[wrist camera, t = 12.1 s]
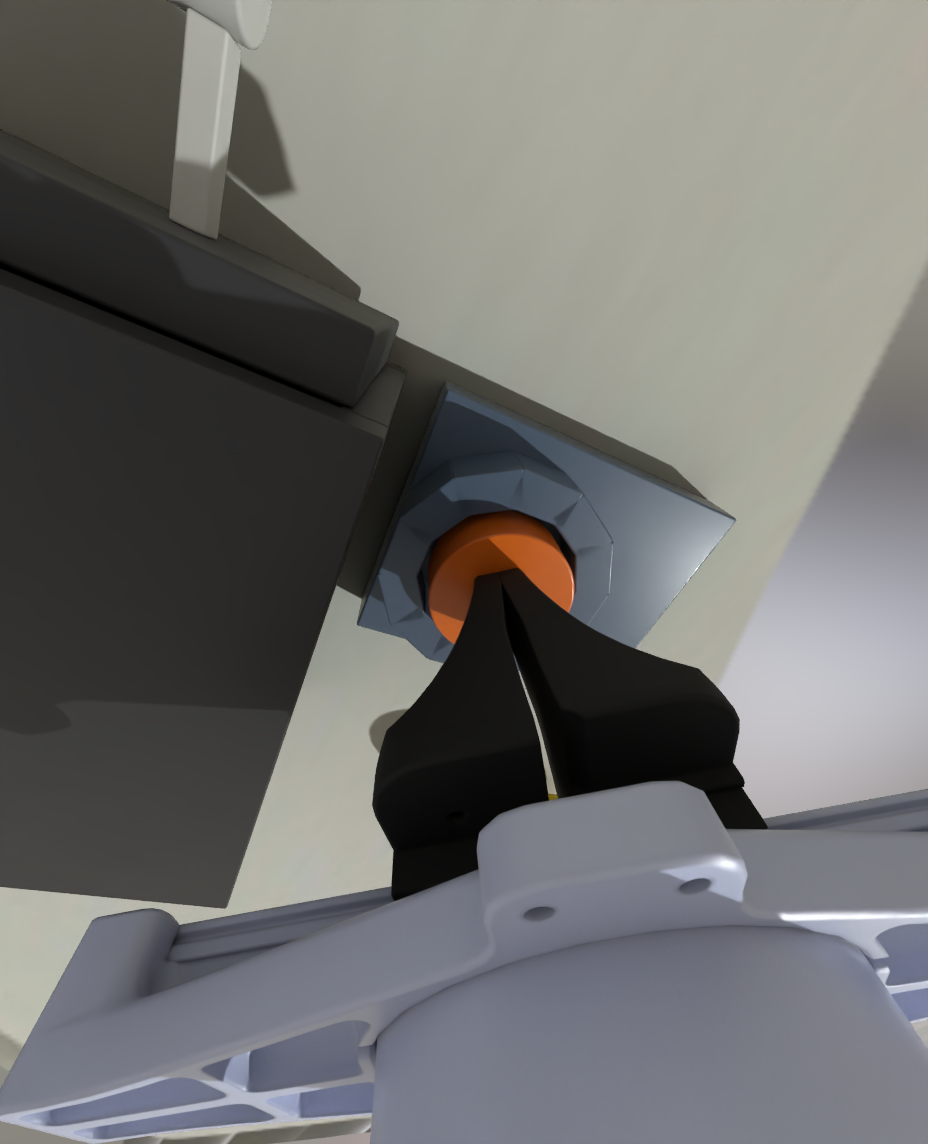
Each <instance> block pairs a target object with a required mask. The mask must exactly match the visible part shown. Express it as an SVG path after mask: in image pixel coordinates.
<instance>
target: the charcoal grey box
mask: <svg viewBox="0 0 928 1144" xmlns="http://www.w3.org/2000/svg"><path fill="white" fill-rule="evenodd" d="M405 375H406V370H405V369H402V368H400V367H398V366H396V365H394V364H391V363H389V362H387V363H386V364H385V366H384V367H383V368H382V369H381V371H380V372H379V373H378V375H377V376H376V377H375V379H374V380H373V381H372V383H371V384H370V385H369V387H368V388H367V389H366V391H365V392H364V393H363V395H362V396H361V397H360V399H359V400H358V401H357V403H356V404H355V405H354V406H353V407H347V406H344V405H343V406H342V407H341V408H339V407H337V406H334V405H332V404H329V403H327V402H325V401H322V400H320V399H317V398H315V397H312V396H310V395H308V394H305V393H303V392H300V391H298V390H295V389H293V388H290V387H288V386H286V385H283V384H281V383H278V382H276V381H273V380H271V379H269V378H266V377H264V376H261V375H259V374H256V373H254V372H252V371H249V370H247V369H244V368H242V367H239V366H237V365H234V364H232V363H230V362H227V361H225V360H222V359H220V358H217V357H215V356H213V355H210V354H208V353H205V352H203V351H200V350H198V349H196V348H193V347H191V346H188V345H186V344H183V343H181V342H178V341H176V340H174V339H171V338H169V337H166V336H164V335H161V334H159V333H157V332H154V331H152V330H149V329H147V328H144V327H142V326H139V325H137V324H135V323H132V322H130V321H127V320H125V319H122V318H120V317H118V316H115V315H113V314H110V313H108V312H105V311H103V310H101V309H98V308H96V307H93V306H91V305H88V304H86V303H83V302H81V301H79V300H76V299H74V298H71V297H69V296H66V295H64V294H62V293H59V292H57V291H54V290H52V289H49V288H47V287H45V286H42V285H40V284H37V283H35V282H32V281H30V280H27V279H25V278H23V277H20V276H18V275H15V274H13V273H10V272H8V271H6V270H3V269H1V268H0V887H8V888H18V889H28V890H39V891H49V892H59V893H69V894H80V895H90V896H100V897H111V898H121V899H131V900H141V901H152V902H162V903H172V904H183V905H193V906H203V907H213V908H226V907H227V905H228V903H229V900H230V897H231V894H232V891H233V888H234V885H235V882H236V879H237V876H238V873H239V870H240V867H241V864H242V861H243V858H244V855H245V852H246V849H247V846H248V843H249V841H250V838H251V835H252V832H253V829H254V826H255V823H256V820H257V817H258V814H259V811H260V808H261V805H262V802H263V799H264V796H265V793H266V790H267V787H268V784H269V782H270V779H271V776H272V773H273V770H274V767H275V764H276V761H277V758H278V755H279V752H280V749H281V746H282V743H283V740H284V737H285V734H286V731H287V728H288V725H289V723H290V720H291V717H292V714H293V711H294V708H295V705H296V702H297V699H298V696H299V693H300V690H301V687H302V684H303V681H304V678H305V675H306V672H307V669H308V666H309V663H310V661H311V658H312V655H313V652H314V649H315V646H316V643H317V640H318V637H319V634H320V631H321V628H322V625H323V622H324V619H325V616H326V613H327V610H328V607H329V604H330V602H331V599H332V596H333V593H334V590H335V587H336V584H337V581H338V578H339V575H340V572H341V569H342V566H343V563H344V560H345V557H346V554H347V551H348V548H349V545H350V543H351V540H352V537H353V534H354V531H355V528H356V525H357V522H358V519H359V516H360V513H361V510H362V507H363V504H364V501H365V498H366V495H367V492H368V489H369V486H370V483H371V481H372V478H373V475H374V472H375V469H376V466H377V463H378V460H379V457H380V454H381V451H382V448H383V445H384V442H385V439H386V436H387V433H388V429H389V426H390V423H391V420H392V416H393V413H394V410H395V407H396V404H397V400H398V397H399V394H400V391H401V388H402V384H403V381H404V378H405Z"/></svg>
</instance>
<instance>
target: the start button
mask: <svg viewBox="0 0 928 1144" xmlns="http://www.w3.org/2000/svg"><path fill="white" fill-rule="evenodd" d="M514 568H519V569H521V570H522V571H523V572H524V573H525V574H526V576H527V577H528V578H529V579H530V580H531V581H532V582H533V583H534V584H535V585H536V586H537V587H538V588H539V589H540V590H541V591H542V592H544V593H545V594H546V595H547V596H548V597H549V598H551V599H552V600H553V601H554V602H555V603H556V604H558V605H559V606H560V607H561V608H563V609H564V610H566V611H567V612H568V613H569V611H570V608H571V606H572V602H573V598H574V590H575V587H574V578H573V573H572V571H571V568H570V566H569V564H568V562H567V560H566V559H565V557H564V555H563V553H562V552H561V550H560V548H559V546H558V545H557V543H556V541H555V539H554V538H553V536H552V534H551V533H550V532H549V531H548V530H547V528H546V527H544V526H543V525H542V524H541V523H540V522H538V521H537V520H535V519H534V518H532V517H530V516H527V515H525V514H522V513H519V512H515V511H509V510H507V511H500V512H492V513H485V514H478V515H470V516H468V517H467V518H465V519H464V520H462V521H461V522H460V523H458V524H457V525H455V526H454V527H453V528H451V529H450V530H448V531H447V532H446V533H444V534H443V535H442V536H441V538H440V539H439V541H438V542H437V543H436V545H435V547H434V549H433V551H432V554H431V557H430V560H429V565H428V603H429V610H430V614H431V617H432V619H433V621H434V624H435V625H436V627H437V628H438V630H439V631H440V632H441V633H442V634H443V635H444V637H446V638H447V639H448V640H449V641H450V642H452V643H453V644H455V642H456V640H457V638H458V636H459V633H460V631H461V628H462V626H463V623H464V621H465V618H466V615H467V612H468V609H469V606H470V602H471V598H472V594H473V589H474V579H475V578H476V577H477V576H480V575H485V574H490V573H495V572H499V571H504V570H509V569H514Z"/></svg>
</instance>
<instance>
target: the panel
mask: <svg viewBox="0 0 928 1144" xmlns="http://www.w3.org/2000/svg"><path fill="white" fill-rule="evenodd" d="M507 510H509V511H515V512H519V513H522V514H525V515H527V516H530V517H532V518H534V519H535V520H537V521H538V522H540V523H541V524H542V525H543V526H544V527H546V528H547V530H548V531H549V532H550V533H551V534H552V536H553V538H554V539H555V541H556V543H557V545H558V546H559V548H560V550H561V552H562V553H563V555H564V557H565V559H566V560H567V562H568V564H569V566H570V568H571V571H572V573H573V578H574V587H575V590H574V598H573V602H572V606H571V608H570V611H569V613H570V614H571V615H572V616H574V617H575V618H577V619H578V620H580V621H581V622H583V623H584V624H586V625H588V626H589V627H591V628H593V629H594V630H596V631H598V632H600V633H602V634H604V635H606V636H608V637H610V638H612V639H614V640H616V641H618V642H620V643H623V644H625V645H627V646H630V647H632V648H636V647H637V645H638V644H639V643H640V642H641V640H642V639H643V638H644V637H645V635H646V634H647V633H648V631H649V630H650V629H651V628H652V626H653V625H654V624H655V623H656V621H657V620H658V619H659V618H660V616H661V615H662V614H663V612H664V611H665V610H666V609H667V607H668V606H669V605H670V604H671V602H672V601H673V600H674V599H675V597H676V596H677V595H678V593H679V592H680V591H681V590H682V588H683V587H684V586H685V585H686V583H687V582H688V581H689V579H690V578H691V577H692V576H693V574H694V573H695V572H696V571H697V569H698V568H699V567H700V566H701V564H702V563H703V562H704V560H705V559H706V558H707V557H708V555H709V554H710V553H711V552H712V550H713V549H714V548H715V547H716V545H717V544H718V543H719V541H720V540H721V539H722V538H723V536H724V535H725V534H726V533H727V531H728V530H729V529H730V528H731V526H732V525H733V524H734V522H735V521H736V519H735V518H734V517H733V516H731V515H730V514H728V513H727V512H725V511H724V510H722V509H721V508H719V507H718V506H716V505H715V504H713V503H712V502H710V501H708V500H706V499H704V498H701V497H699V496H697V495H695V494H693V493H690V492H688V491H686V490H684V489H682V488H679V487H677V486H675V485H673V484H671V483H668V482H666V481H664V480H662V479H660V478H658V477H655V476H653V475H651V474H649V473H647V472H644V471H642V470H640V469H638V468H636V467H633V466H631V465H629V464H627V463H625V462H622V461H620V460H618V459H616V458H614V457H612V456H609V455H607V454H605V453H603V452H601V451H598V450H596V449H594V448H592V447H590V446H587V445H585V444H583V443H581V442H579V441H577V440H574V439H572V438H570V437H568V436H566V435H563V434H561V433H559V432H557V431H555V430H552V429H550V428H548V427H546V426H544V425H541V424H539V423H537V422H535V421H533V420H531V419H528V418H526V417H524V416H522V415H520V414H517V413H515V412H513V411H511V410H509V409H506V408H504V407H502V406H500V405H498V404H495V403H493V402H491V401H489V400H487V399H485V398H482V397H480V396H478V395H476V394H474V393H471V392H469V391H467V390H465V389H463V388H460V387H458V386H456V385H454V384H452V383H450V382H445V383H444V385H443V388H442V390H441V393H440V396H439V398H438V401H437V403H436V406H435V409H434V411H433V414H432V417H431V419H430V422H429V425H428V427H427V430H426V432H425V435H424V438H423V440H422V443H421V446H420V448H419V451H418V454H417V456H416V459H415V461H414V464H413V467H412V469H411V472H410V475H409V477H408V480H407V483H406V485H405V488H404V490H403V493H402V496H401V498H400V500H399V503H398V506H397V508H396V511H395V513H394V516H393V519H392V521H391V524H390V527H389V529H388V532H387V535H386V537H385V540H384V542H383V545H382V548H381V551H380V554H379V556H378V559H377V562H376V564H375V567H374V569H373V572H372V575H371V577H370V580H369V583H368V585H367V588H366V591H365V593H364V596H363V598H362V602H361V607H360V611H359V616H358V620H357V625H358V626H362V627H365V628H369V629H372V630H376V631H379V632H383V633H387V634H390V635H394V636H397V637H401V638H404V639H406V640H408V641H409V642H410V643H411V644H412V645H413V646H414V647H415V648H416V649H417V650H418V651H420V652H421V653H422V654H423V655H424V656H425V657H426V658H428V659H430V660H434V661H437V662H441V663H444V662H445V661H446V659H447V657H448V656H449V654H450V652H451V650H452V648H453V646H454V644H453V643H452V642H450V641H449V640H448V639H447V638H446V637H444V635H443V634H442V633H441V632H440V631H439V630H438V628H437V627H436V625H435V624H434V621H433V619H432V617H431V614H430V610H429V603H428V565H429V560H430V557H431V554H432V551H433V549H434V547H435V545H436V543H437V542H438V541H439V539H440V538H441V536H442V535H443V534H444V533H446V532H447V531H448V530H450V529H451V528H453V527H454V526H455V525H457V524H458V523H460V522H461V521H462V520H464V519H465V518H467V517H468V516H470V515H478V514H485V513H492V512H500V511H507ZM514 659H515V656H514ZM515 662H516V666H517V669H518V671H520V670H519V667H518V664H517V661H516V659H515Z"/></svg>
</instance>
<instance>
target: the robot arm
mask: <svg viewBox="0 0 928 1144" xmlns="http://www.w3.org/2000/svg"><path fill="white" fill-rule="evenodd" d="M514 656H515V659H516V661H517V664H518V667H519V670H520V672H521V675H522V678H523V681H524V683H525V686H526V689H527V691H528V694H529V697H530V700H531V702H532V705H533V708H534V710H535V713H536V716H537V719H538V722H539V726H540V729H541V733H542V737H543V741H544V745H545V748H546V752H547V756H548V760H549V764H550V768H551V772H552V776H553V780H554V784H555V788H556V792H557V796H558V799H555V800H550V801H549V797H548V791H547V784H546V778H545V771H544V765H543V758H542V752H541V745H540V741H539V736H538V733H537V729H536V725H535V721H534V718H533V715H532V712H531V709H530V706H529V703H528V700H527V697H526V694H525V691H524V688H523V685H522V682H521V679H520V675H519V672H518V669H517V666H516V662H515V659H514ZM739 721H740V720H739V717H738V715H737V713H736V711H735V709H734V708H733V706H732V705H731V704H730V703H729V701H728V700H727V699H726V697H725V696H724V695H723V694H722V692H721V691H720V690H719V689H718V688H717V687H716V686H715V685H714V684H713V683H712V682H711V681H710V680H709V679H708V678H707V677H706V676H705V675H704V674H703V673H702V671H701V670H700V669H698V668H694V667H691V666H687V665H684V664H680V663H677V662H673V661H669V660H666V659H662V658H659V657H656V656H654V655H651V654H648V653H645V652H643V651H640V650H637V649H635V648H632V647H630V646H627V645H625V644H623V643H620V642H618V641H616V640H614V639H612V638H610V637H608V636H606V635H604V634H602V633H600V632H598V631H596V630H594V629H593V628H591V627H589V626H588V625H586V624H584V623H583V622H581V621H580V620H578V619H577V618H575V617H574V616H572V615H571V614H570V613H568V612H567V611H566V610H564V609H563V608H561V607H560V606H559V605H558V604H556V603H555V602H554V601H553V600H552V599H551V598H549V597H548V596H547V595H546V594H545V593H544V592H542V591H541V590H540V589H539V588H538V587H537V586H536V585H535V584H534V583H533V582H532V581H531V580H530V579H529V578H528V577H527V576H526V574H525V573H524V572H523V571H522V570H521V569H519V568H514V569H509V570H504V571H499V572H495V573H490V574H485V575H480V576H477V577H476V578H475V579H474V589H473V594H472V598H471V602H470V606H469V609H468V612H467V615H466V618H465V621H464V623H463V626H462V628H461V631H460V633H459V636H458V638H457V640H456V642H455V644H454V646H453V648H452V650H451V652H450V654H449V656H448V657H447V659H446V661H445V662H444V664H443V665H442V667H441V669H440V670H439V672H438V673H437V675H436V676H435V678H434V679H433V681H432V682H431V683H430V685H429V686H428V687H427V688H426V690H425V691H424V692H423V693H422V695H421V696H420V697H419V698H418V699H417V701H416V702H415V703H414V704H413V705H412V706H411V708H410V709H409V710H408V711H406V712H405V713H404V714H403V715H402V716H401V717H400V718H399V719H398V720H397V721H396V722H395V723H394V724H393V725H392V726H391V727H390V728H389V729H388V730H387V731H386V734H385V737H384V740H383V744H382V747H381V751H380V755H379V759H378V763H377V768H376V774H375V783H374V793H373V803H372V806H373V810H374V813H375V816H376V818H377V820H378V822H379V824H380V826H381V828H382V830H383V831H384V833H385V835H386V837H387V839H388V841H389V843H390V844H391V846H392V848H393V850H394V852H393V870H392V886H391V887H386V888H380V889H375V890H369V891H364V892H358V893H353V894H347V895H342V896H336V897H331V898H325V899H320V900H314V901H309V902H303V903H298V904H292V905H287V906H281V907H276V908H270V909H265V910H259V911H254V912H248V913H243V914H237V915H232V916H226V917H221V918H215V919H210V920H204V921H199V922H193V923H188V924H182V925H179V924H178V922H177V921H176V920H175V918H174V917H173V916H172V915H170V914H169V913H167V912H165V911H163V910H160V909H154V908H150V909H140V910H134V911H129V912H124V913H118V914H113V915H107V916H102V917H98V918H96V919H94V920H92V922H91V924H90V925H89V927H88V929H87V931H86V933H85V935H84V936H83V938H82V940H81V942H80V944H79V946H78V947H77V949H76V951H75V953H74V955H73V957H72V958H71V960H70V962H69V964H68V966H67V968H66V969H65V971H64V973H63V975H62V977H61V979H60V980H59V982H58V984H57V986H56V988H55V989H54V991H53V993H52V995H51V997H50V999H49V1000H48V1002H47V1004H46V1006H45V1008H44V1010H43V1011H42V1013H41V1015H40V1017H39V1019H38V1021H37V1022H36V1024H35V1026H34V1028H33V1030H32V1032H31V1033H30V1035H29V1037H28V1039H27V1041H26V1043H25V1044H24V1046H23V1048H22V1050H21V1052H20V1054H19V1055H18V1057H17V1059H16V1061H15V1063H14V1065H13V1066H12V1068H11V1070H10V1072H9V1074H8V1076H7V1077H6V1079H5V1081H4V1083H3V1085H2V1086H1V1088H0V1121H3V1122H7V1123H11V1124H15V1125H19V1126H23V1127H26V1128H30V1129H34V1130H38V1131H42V1132H47V1133H50V1134H54V1135H58V1136H62V1137H66V1138H70V1139H74V1140H78V1141H82V1142H86V1143H90V1144H97V1143H104V1142H110V1141H116V1140H124V1139H130V1138H137V1137H143V1136H151V1135H159V1134H167V1133H175V1132H184V1131H192V1130H202V1129H212V1128H223V1127H233V1126H245V1125H257V1124H269V1123H281V1122H293V1121H305V1120H317V1119H329V1118H341V1117H353V1116H366V1115H372V1121H371V1137H370V1144H928V1048H927V1047H926V1045H925V1044H924V1042H923V1041H922V1040H921V1038H920V1037H919V1035H918V1034H917V1032H916V1031H915V1029H914V1028H913V1026H912V1025H911V1023H915V1022H919V1021H923V1020H927V1019H928V789H924V790H919V791H914V792H908V793H902V794H897V795H891V796H886V797H880V798H875V799H869V800H864V801H859V802H854V803H847V804H842V805H837V806H831V807H825V808H820V809H814V810H809V811H803V812H798V813H792V814H787V815H782V816H776V817H771V818H765V819H763V818H762V817H761V815H760V814H759V812H758V811H757V809H756V808H755V806H754V805H753V803H752V802H751V800H750V799H749V797H748V796H747V795H746V793H745V792H744V790H743V788H742V787H744V783H745V782H744V779H743V777H742V775H741V774H740V772H739V771H738V770H737V768H736V766H735V765H734V764H733V759H734V754H735V749H736V745H737V740H738V734H739Z"/></svg>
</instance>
